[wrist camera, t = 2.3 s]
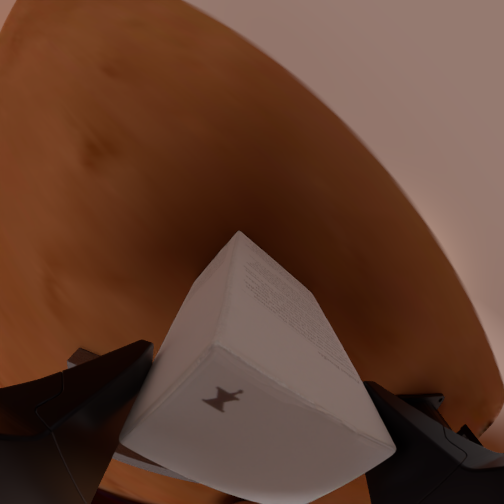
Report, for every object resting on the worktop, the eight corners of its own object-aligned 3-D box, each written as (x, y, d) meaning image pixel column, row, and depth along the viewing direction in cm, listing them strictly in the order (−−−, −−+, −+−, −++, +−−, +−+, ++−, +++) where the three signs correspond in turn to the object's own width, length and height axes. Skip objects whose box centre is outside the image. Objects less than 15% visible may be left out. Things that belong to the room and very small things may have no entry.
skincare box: (192, 282, 16) (107, 439, 5) (239, 228, 16) (213, 333, 4) (268, 341, 17) (290, 514, 6) (315, 294, 17) (406, 449, 5)
